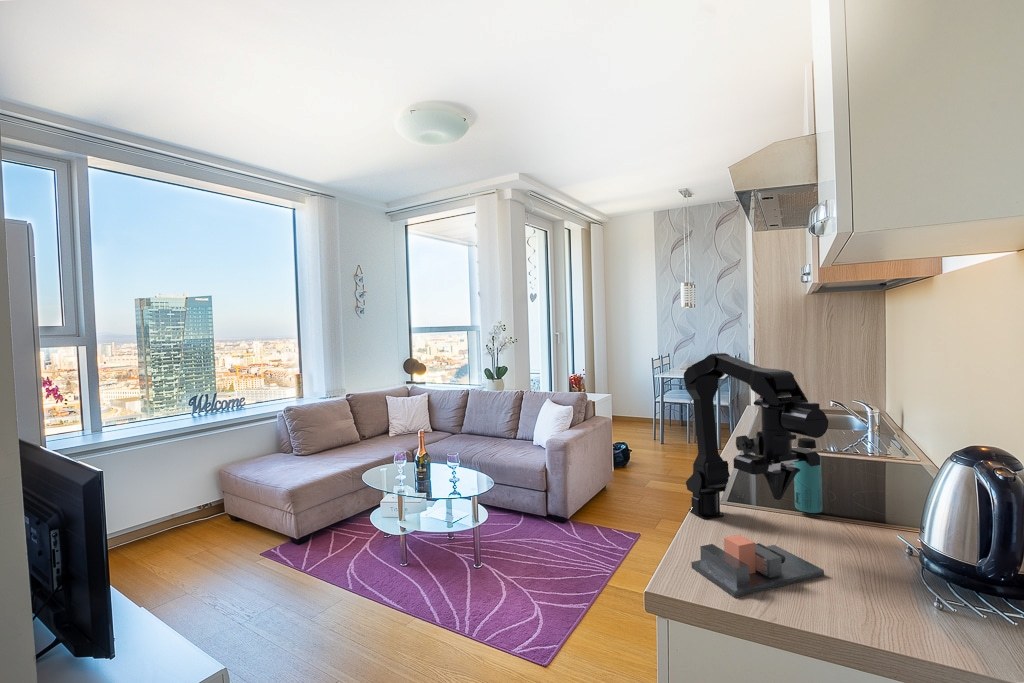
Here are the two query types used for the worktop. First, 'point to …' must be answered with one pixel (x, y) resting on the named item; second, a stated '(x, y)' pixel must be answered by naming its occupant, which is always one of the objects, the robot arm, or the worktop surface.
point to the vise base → (739, 581)
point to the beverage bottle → (808, 482)
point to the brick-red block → (741, 550)
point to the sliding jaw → (768, 561)
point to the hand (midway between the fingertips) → (777, 499)
